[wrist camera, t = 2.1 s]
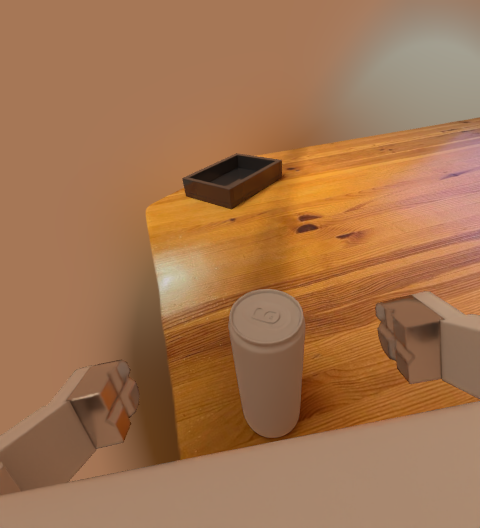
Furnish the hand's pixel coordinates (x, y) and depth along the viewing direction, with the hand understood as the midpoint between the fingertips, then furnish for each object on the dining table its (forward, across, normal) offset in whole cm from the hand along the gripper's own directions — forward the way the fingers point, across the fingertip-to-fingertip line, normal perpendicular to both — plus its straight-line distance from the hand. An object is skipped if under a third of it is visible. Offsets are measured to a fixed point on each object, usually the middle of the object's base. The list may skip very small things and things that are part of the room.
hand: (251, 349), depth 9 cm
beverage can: (+12, +1, +15) cm, 19 cm away
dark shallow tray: (+60, 0, -1) cm, 60 cm away
